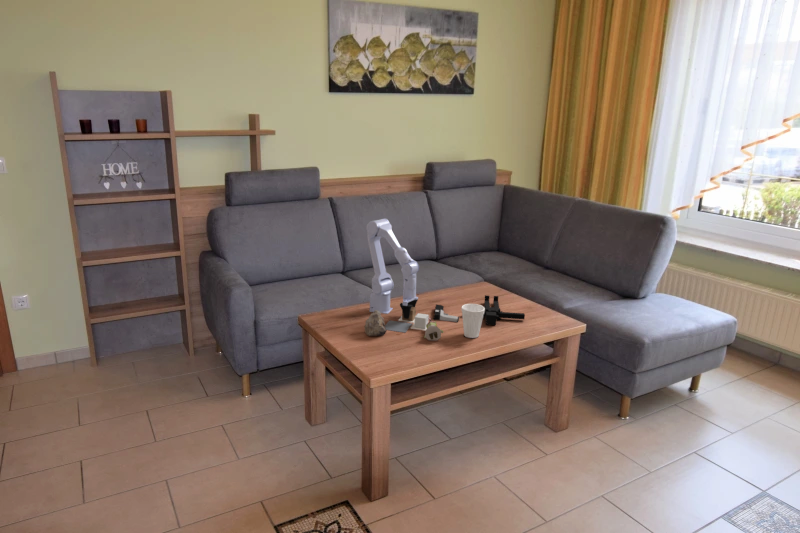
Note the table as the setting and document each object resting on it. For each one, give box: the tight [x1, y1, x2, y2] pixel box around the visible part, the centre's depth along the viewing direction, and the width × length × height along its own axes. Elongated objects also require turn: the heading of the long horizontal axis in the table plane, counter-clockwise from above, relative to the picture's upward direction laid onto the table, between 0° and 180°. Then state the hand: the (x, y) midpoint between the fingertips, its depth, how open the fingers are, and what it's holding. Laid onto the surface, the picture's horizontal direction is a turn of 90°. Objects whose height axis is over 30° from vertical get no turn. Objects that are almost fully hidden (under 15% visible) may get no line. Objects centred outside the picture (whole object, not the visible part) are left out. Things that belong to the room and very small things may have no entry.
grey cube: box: [414, 312, 430, 329], centre depth 250 cm, size 5×5×5 cm
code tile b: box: [410, 323, 427, 331], centre depth 251 cm, size 8×8×1 cm
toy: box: [483, 294, 526, 326], centre depth 268 cm, size 28×6×30 cm
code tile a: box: [397, 315, 415, 324], centre depth 260 cm, size 8×8×1 cm
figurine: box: [423, 316, 445, 341], centre depth 241 cm, size 9×7×15 cm
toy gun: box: [432, 304, 460, 323], centre depth 265 cm, size 3×16×12 cm
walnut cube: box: [401, 306, 417, 321], centre depth 259 cm, size 5×5×5 cm
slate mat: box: [385, 320, 413, 334], centre depth 250 cm, size 11×11×1 cm
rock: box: [364, 310, 387, 337], centre depth 242 cm, size 9×12×10 cm
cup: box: [460, 303, 485, 339], centre depth 241 cm, size 10×10×13 cm
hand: (408, 315), depth 259 cm, fingers open, 7 cm apart
